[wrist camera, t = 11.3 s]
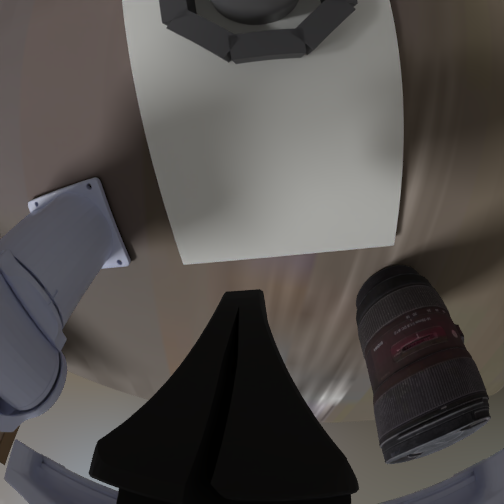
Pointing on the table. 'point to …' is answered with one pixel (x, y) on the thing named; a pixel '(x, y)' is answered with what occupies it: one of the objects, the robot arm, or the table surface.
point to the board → (271, 125)
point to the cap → (254, 10)
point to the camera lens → (416, 367)
